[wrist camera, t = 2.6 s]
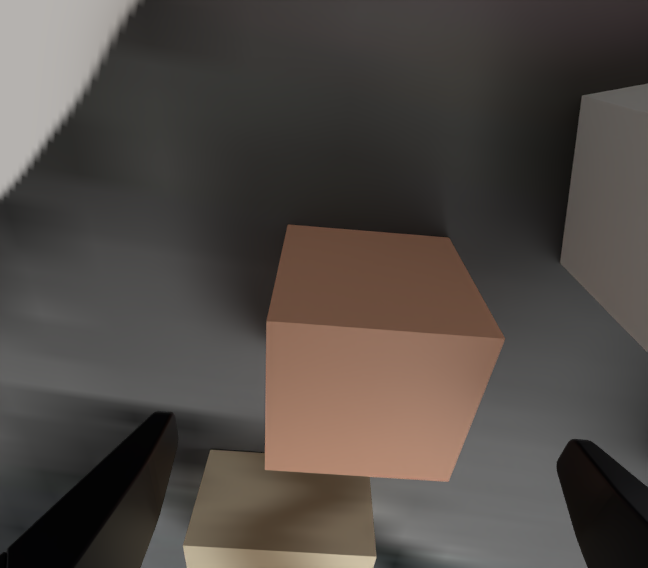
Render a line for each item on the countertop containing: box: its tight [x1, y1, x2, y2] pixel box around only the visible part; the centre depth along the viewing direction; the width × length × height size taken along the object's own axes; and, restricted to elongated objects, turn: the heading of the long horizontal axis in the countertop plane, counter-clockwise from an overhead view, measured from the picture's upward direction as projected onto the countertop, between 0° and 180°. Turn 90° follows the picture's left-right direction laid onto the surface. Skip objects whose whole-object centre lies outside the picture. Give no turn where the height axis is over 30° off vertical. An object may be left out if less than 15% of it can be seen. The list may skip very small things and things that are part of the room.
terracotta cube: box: [265, 225, 505, 482], centre depth 12 cm, size 5×5×5 cm
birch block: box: [183, 450, 376, 568], centre depth 19 cm, size 7×7×4 cm
